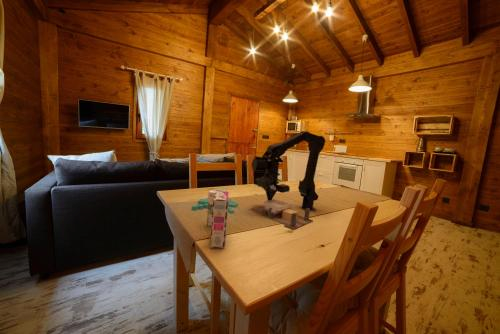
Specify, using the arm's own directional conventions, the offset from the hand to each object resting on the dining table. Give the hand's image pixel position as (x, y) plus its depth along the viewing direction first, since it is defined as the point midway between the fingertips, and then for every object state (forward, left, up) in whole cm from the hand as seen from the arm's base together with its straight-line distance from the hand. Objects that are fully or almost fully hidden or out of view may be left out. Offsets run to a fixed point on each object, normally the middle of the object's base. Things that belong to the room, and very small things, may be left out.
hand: (269, 201), depth 110 cm
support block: (0, +13, -5) cm, 13 cm away
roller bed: (0, +7, -5) cm, 8 cm away
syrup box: (+31, -2, -6) cm, 32 cm away
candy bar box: (+38, +9, -6) cm, 39 cm away
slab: (0, +5, -1) cm, 5 cm away
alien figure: (+16, -21, -6) cm, 27 cm away
